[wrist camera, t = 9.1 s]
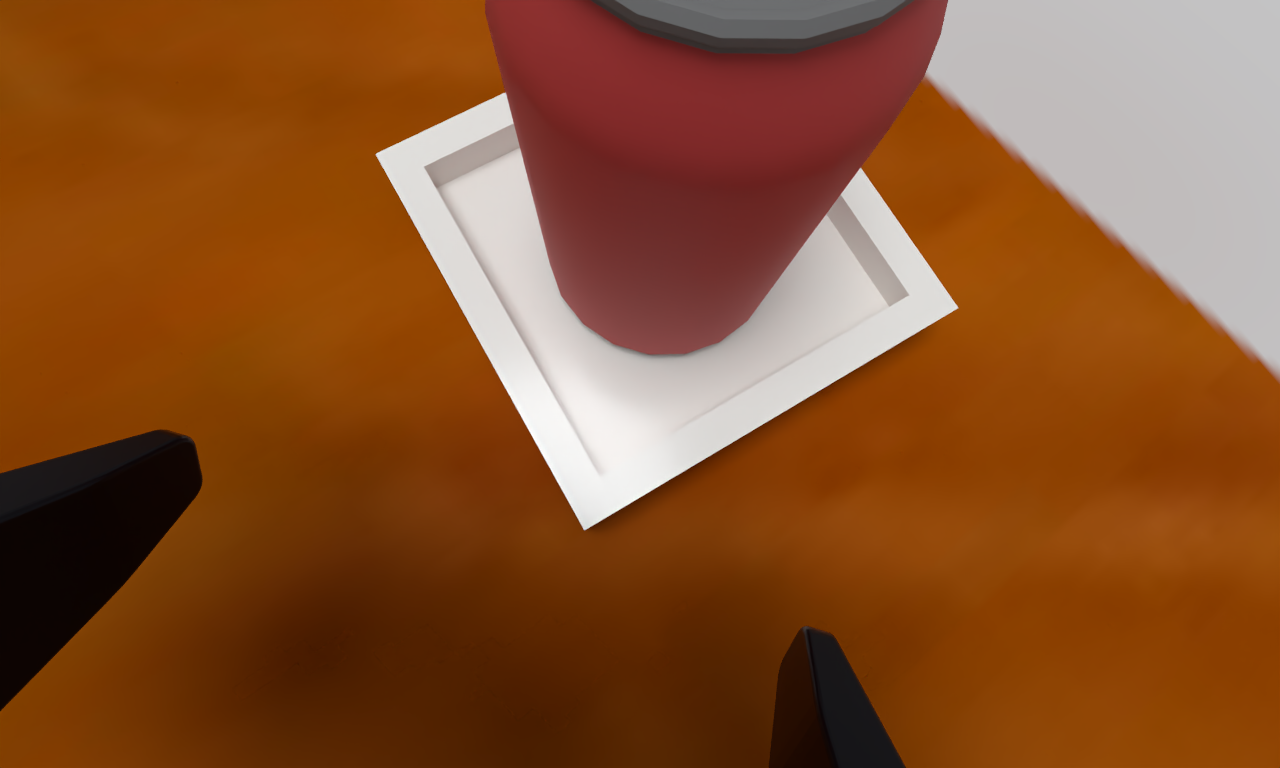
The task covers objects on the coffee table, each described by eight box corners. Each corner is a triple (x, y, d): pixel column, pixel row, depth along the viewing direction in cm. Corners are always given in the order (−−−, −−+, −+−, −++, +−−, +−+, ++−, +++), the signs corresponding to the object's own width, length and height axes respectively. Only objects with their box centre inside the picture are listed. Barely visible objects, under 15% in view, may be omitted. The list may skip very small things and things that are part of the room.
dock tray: (919, 329, 19) (958, 308, 17) (587, 527, 18) (584, 530, 16) (720, 37, 21) (733, -16, 19) (401, 192, 19) (375, 154, 17)
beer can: (743, 140, 19) (949, -432, 7) (791, 340, 18) (1129, 30, 6) (534, 171, 19) (404, -392, 7) (570, 379, 18) (485, 121, 6)
